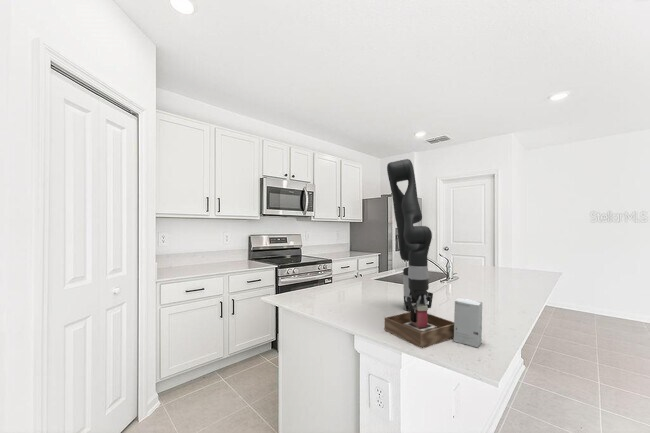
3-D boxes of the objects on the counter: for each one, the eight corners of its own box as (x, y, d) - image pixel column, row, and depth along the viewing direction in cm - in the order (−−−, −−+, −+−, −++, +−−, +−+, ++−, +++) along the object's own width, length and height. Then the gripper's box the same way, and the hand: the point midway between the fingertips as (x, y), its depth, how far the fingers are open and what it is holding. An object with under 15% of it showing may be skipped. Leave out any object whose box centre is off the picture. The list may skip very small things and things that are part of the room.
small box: (410, 323, 111) (410, 303, 112) (420, 322, 113) (419, 302, 113) (418, 328, 107) (417, 307, 107) (427, 327, 108) (427, 306, 108)
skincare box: (453, 341, 102) (452, 300, 102) (458, 336, 106) (457, 297, 107) (479, 348, 96) (478, 304, 96) (483, 342, 101) (482, 300, 101)
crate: (418, 321, 122) (418, 310, 123) (457, 336, 106) (457, 323, 106) (384, 330, 113) (384, 317, 113) (422, 348, 97) (421, 333, 97)
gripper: (423, 273, 117) (424, 315, 116) (397, 277, 110) (398, 321, 110) (438, 276, 110) (439, 320, 110) (412, 280, 103) (413, 327, 103)
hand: (419, 320), depth 110 cm, fingers closed on small box, 5 cm apart
